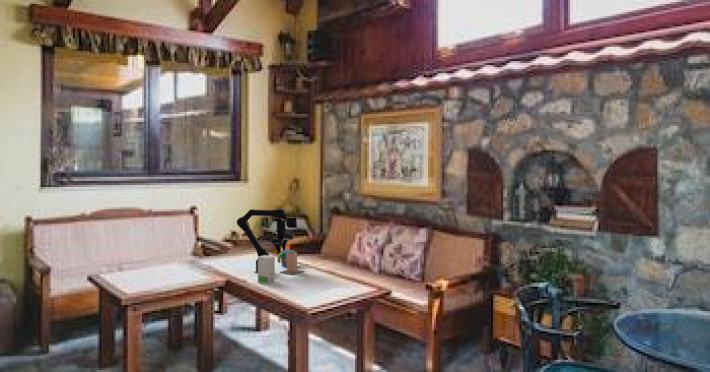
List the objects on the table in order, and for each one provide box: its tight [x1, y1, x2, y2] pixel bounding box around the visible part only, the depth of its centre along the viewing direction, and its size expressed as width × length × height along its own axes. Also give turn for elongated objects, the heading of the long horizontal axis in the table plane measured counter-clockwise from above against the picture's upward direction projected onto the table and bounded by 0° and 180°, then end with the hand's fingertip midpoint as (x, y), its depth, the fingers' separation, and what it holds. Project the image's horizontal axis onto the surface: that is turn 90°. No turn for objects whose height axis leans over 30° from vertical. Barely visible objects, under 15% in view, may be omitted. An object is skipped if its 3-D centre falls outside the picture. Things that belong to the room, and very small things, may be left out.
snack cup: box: [277, 249, 296, 268], centre depth 357 cm, size 16×10×10 cm
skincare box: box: [257, 255, 276, 285], centre depth 315 cm, size 8×7×16 cm
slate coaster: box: [279, 269, 305, 276], centre depth 339 cm, size 11×11×1 cm
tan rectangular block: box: [286, 251, 298, 272], centre depth 338 cm, size 5×5×12 cm
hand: (281, 252), depth 339 cm, fingers open, 9 cm apart
